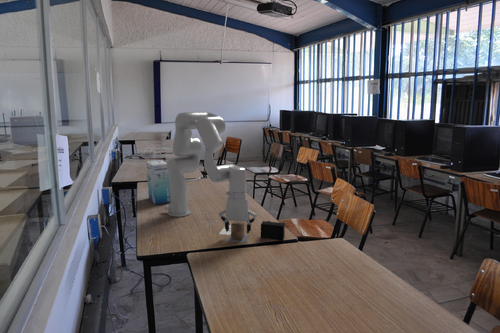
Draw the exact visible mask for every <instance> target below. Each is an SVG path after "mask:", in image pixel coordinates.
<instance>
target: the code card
mask: <svg viewBox="0 0 500 333" xmlns="http://www.w3.org/2000/svg"><path fill="white" fill-rule="evenodd" d="M230 234H231V224H229V230H228V231H227V232H226V229H225V226H224V227H223V228H222V229H221V231H220V232H219V233H218V235H227V236H230Z"/></svg>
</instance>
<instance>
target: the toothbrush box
mask: <svg viewBox="0 0 500 333" xmlns="http://www.w3.org/2000/svg"><path fill="white" fill-rule="evenodd" d="M145 165H146V173H147V174H146V176H147V177H146V178H147V188H148V199H149V200H150V201H151V202H152V203H153V204H154V205H155V206H156V205H161V204H170V185H169V174H168V170H167V162H165V161H164V160H162V159H159V160H158V159H156V160H148V161H146V164H145Z"/></svg>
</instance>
